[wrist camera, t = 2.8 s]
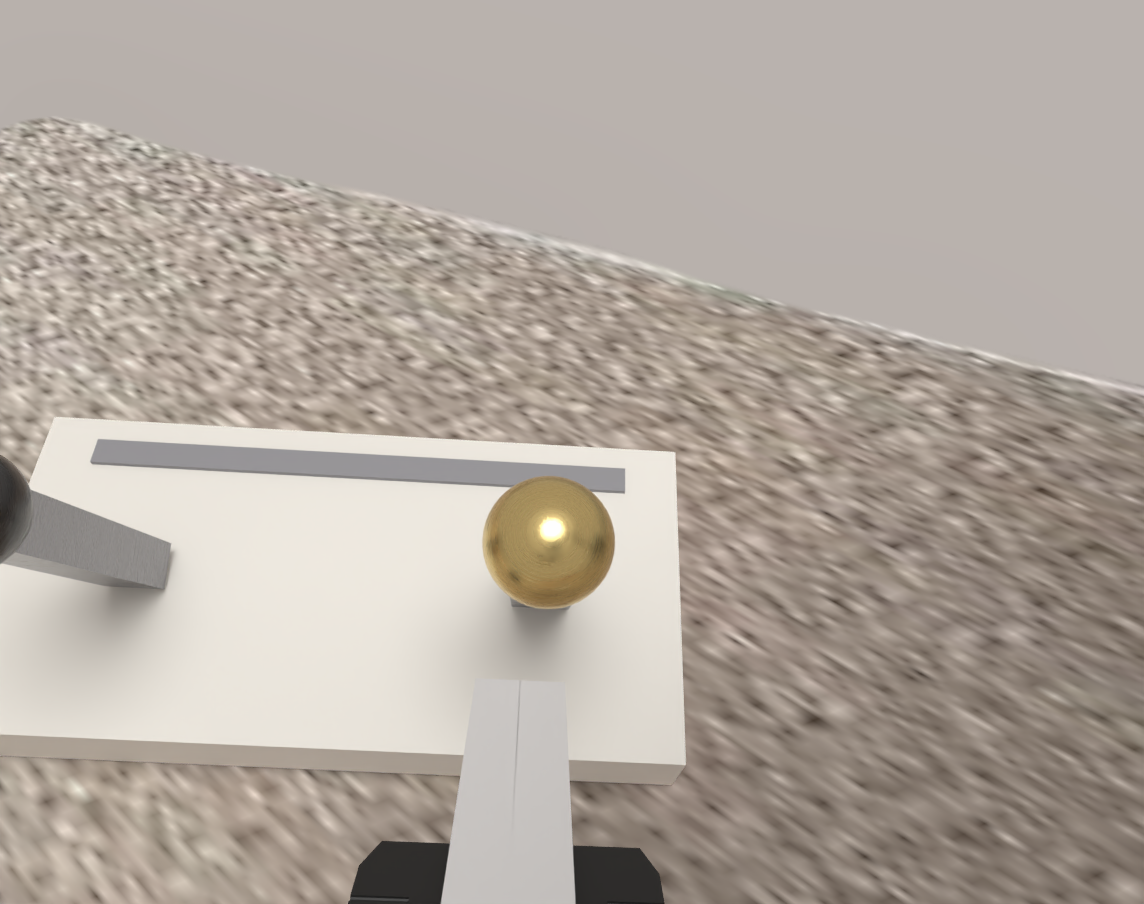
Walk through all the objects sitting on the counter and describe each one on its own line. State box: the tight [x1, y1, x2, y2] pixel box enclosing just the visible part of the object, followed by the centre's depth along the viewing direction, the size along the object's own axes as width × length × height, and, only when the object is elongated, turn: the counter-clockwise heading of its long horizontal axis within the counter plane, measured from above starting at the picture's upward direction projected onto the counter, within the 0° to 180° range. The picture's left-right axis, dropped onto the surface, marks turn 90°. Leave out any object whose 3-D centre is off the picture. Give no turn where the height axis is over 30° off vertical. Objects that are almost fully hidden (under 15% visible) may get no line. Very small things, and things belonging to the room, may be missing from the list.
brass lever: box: [482, 476, 615, 610], centre depth 27 cm, size 3×3×12 cm
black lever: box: [0, 455, 171, 589], centre depth 26 cm, size 3×3×12 cm
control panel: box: [0, 417, 686, 785], centre depth 34 cm, size 12×24×3 cm, turn 88°
